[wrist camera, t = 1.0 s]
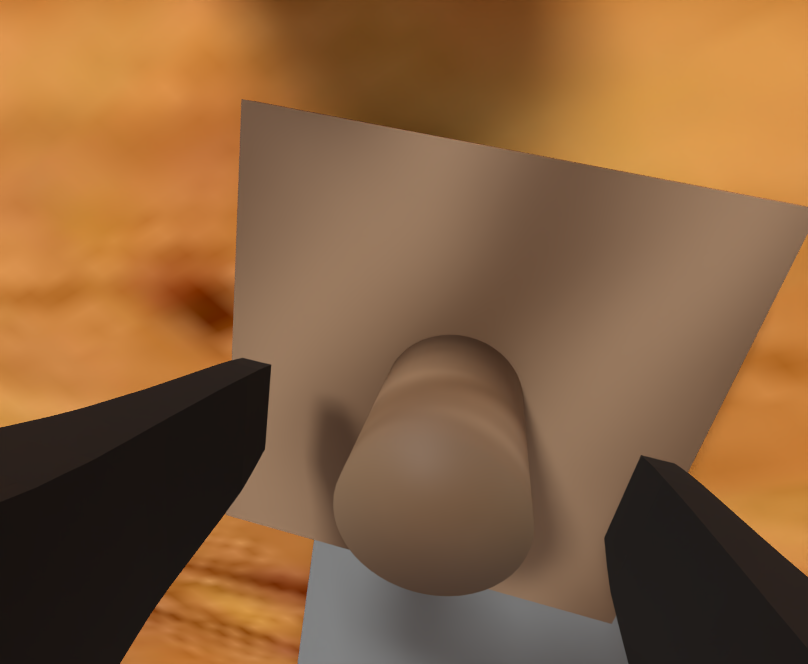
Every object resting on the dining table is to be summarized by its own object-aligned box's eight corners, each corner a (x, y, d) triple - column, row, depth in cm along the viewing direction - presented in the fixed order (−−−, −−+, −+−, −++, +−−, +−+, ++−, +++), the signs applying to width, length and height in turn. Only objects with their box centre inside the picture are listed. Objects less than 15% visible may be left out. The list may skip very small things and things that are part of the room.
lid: (800, 205, 9) (1049, 261, 5) (607, 604, 14) (655, 814, 9) (255, 101, 10) (87, 76, 6) (236, 500, 15) (130, 646, 10)
